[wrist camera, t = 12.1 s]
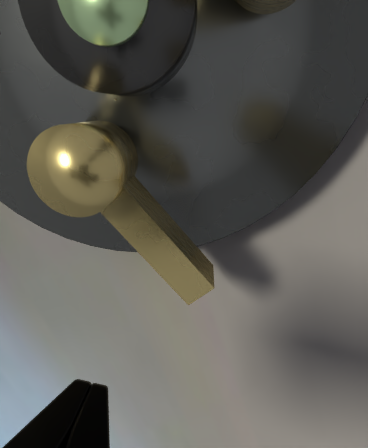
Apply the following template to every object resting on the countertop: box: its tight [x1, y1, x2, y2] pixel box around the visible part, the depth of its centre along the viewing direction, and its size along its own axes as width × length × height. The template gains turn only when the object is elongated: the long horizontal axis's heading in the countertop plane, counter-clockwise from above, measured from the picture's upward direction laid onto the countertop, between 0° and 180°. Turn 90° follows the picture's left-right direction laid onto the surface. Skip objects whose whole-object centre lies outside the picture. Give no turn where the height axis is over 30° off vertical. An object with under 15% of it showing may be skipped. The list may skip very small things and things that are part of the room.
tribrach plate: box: [0, 0, 368, 252], centre depth 11 cm, size 20×20×4 cm
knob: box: [27, 121, 214, 305], centre depth 13 cm, size 9×3×3 cm, turn 40°
